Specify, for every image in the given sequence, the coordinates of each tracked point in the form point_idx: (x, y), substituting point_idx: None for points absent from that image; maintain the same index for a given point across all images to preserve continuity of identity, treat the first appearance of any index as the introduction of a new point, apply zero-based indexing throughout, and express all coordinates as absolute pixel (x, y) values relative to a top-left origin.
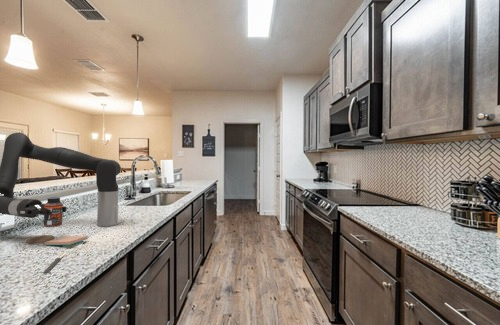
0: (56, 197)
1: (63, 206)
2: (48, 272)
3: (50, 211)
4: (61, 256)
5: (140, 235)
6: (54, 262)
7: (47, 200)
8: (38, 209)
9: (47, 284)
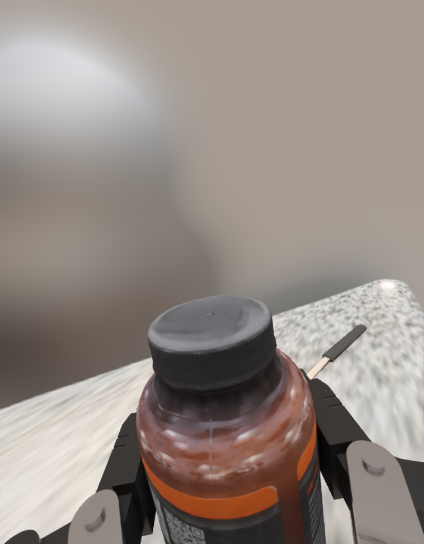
0: (192, 310)
1: (133, 423)
2: (357, 326)
3: None
4: (316, 367)
5: (106, 373)
6: (340, 342)
7: (271, 355)
8: (391, 460)
9: (361, 304)
